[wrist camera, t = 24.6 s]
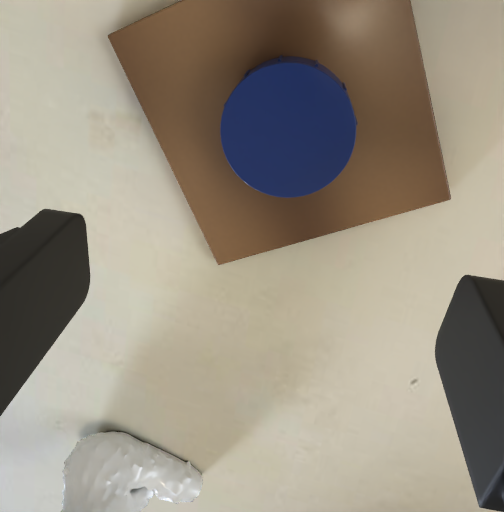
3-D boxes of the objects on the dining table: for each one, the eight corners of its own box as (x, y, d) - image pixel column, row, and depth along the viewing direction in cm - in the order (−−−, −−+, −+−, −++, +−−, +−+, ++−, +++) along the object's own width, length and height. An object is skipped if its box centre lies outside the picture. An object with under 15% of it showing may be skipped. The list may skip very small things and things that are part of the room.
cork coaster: (388, -95, 17) (390, -98, 17) (448, 194, 22) (451, 200, 22) (111, 33, 21) (106, 35, 20) (219, 260, 26) (217, 265, 25)
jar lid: (203, 134, 22) (194, 146, 20) (278, 26, 19) (274, 30, 18) (298, 205, 23) (297, 221, 21) (381, 112, 20) (386, 123, 19)
